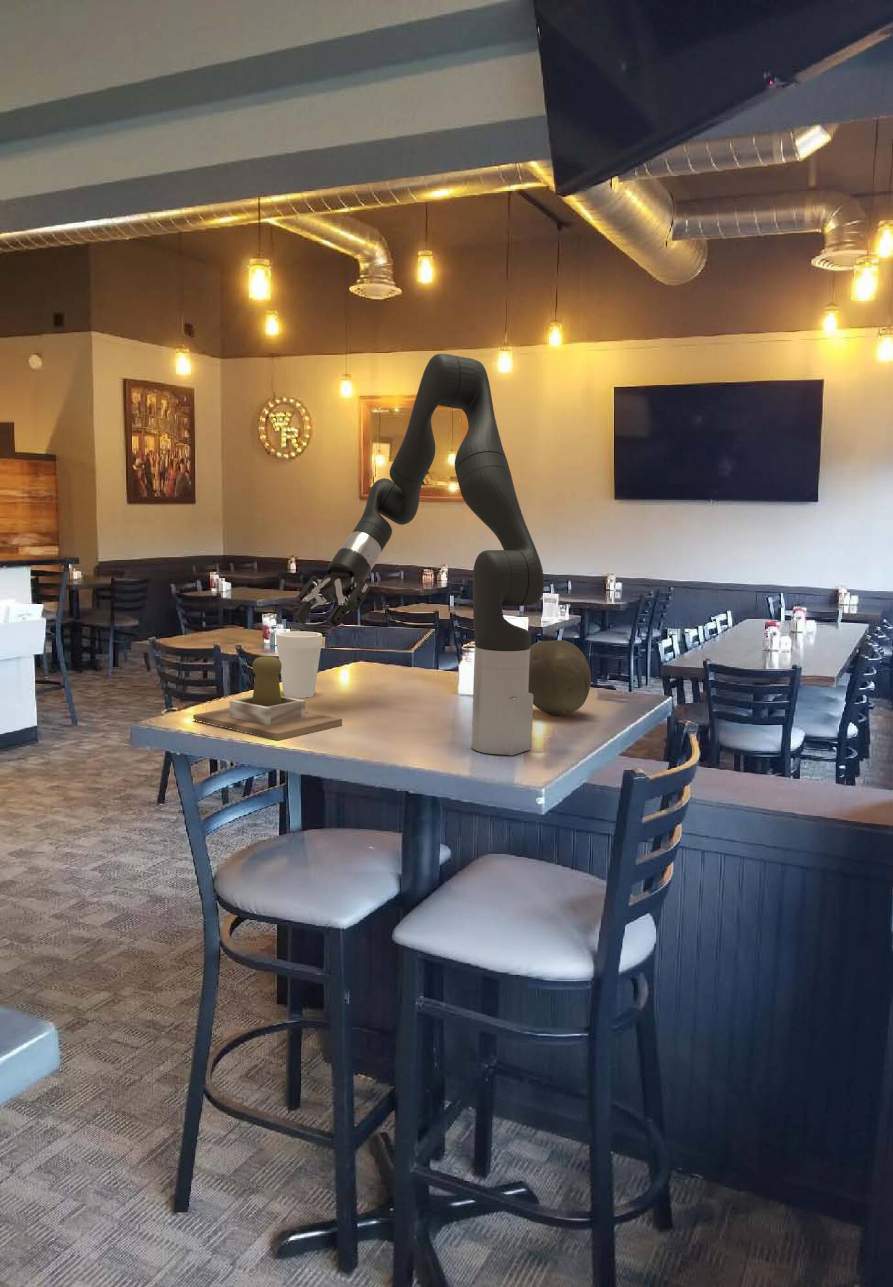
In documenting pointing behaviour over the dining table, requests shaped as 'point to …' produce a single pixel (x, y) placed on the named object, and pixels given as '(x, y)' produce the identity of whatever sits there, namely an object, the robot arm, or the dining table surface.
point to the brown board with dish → (269, 718)
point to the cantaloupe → (558, 677)
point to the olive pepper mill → (267, 681)
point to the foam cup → (299, 662)
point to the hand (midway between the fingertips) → (314, 622)
